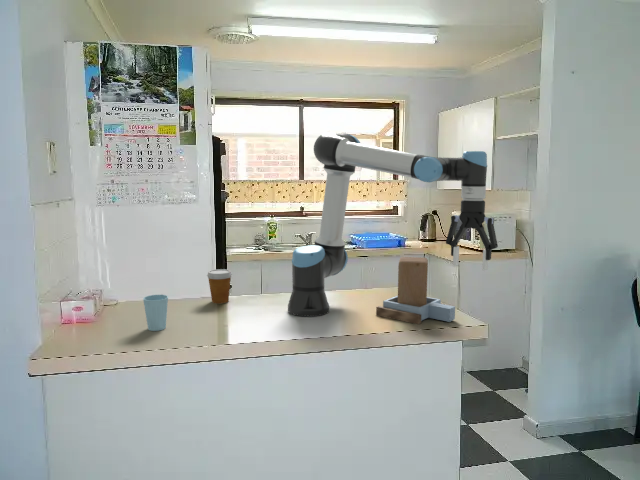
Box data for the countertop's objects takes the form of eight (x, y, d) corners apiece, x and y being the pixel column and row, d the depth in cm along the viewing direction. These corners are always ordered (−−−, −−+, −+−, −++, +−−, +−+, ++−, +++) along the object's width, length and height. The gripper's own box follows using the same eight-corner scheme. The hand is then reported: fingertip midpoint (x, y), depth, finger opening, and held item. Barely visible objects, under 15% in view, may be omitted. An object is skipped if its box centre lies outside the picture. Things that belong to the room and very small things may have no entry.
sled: (382, 313, 185) (383, 300, 185) (404, 304, 197) (404, 292, 196) (442, 325, 171) (442, 312, 170) (461, 315, 182) (461, 303, 182)
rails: (376, 315, 185) (376, 306, 184) (403, 303, 199) (403, 296, 199) (418, 324, 174) (419, 315, 174) (444, 311, 189) (444, 303, 188)
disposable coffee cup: (230, 304, 197) (229, 274, 196) (205, 304, 198) (204, 273, 196) (234, 298, 207) (233, 269, 205) (210, 298, 207) (209, 268, 205)
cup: (166, 332, 165) (164, 300, 164) (141, 332, 165) (140, 300, 164) (171, 324, 173) (170, 294, 171) (148, 325, 173) (146, 294, 171)
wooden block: (425, 318, 181) (427, 262, 178) (397, 316, 183) (398, 261, 180) (426, 310, 190) (427, 257, 187) (398, 309, 192) (399, 256, 189)
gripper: (436, 198, 171) (434, 265, 174) (502, 201, 157) (499, 274, 161) (446, 197, 177) (444, 262, 180) (511, 200, 163) (507, 270, 166)
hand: (470, 267), depth 170 cm, fingers open, 9 cm apart
